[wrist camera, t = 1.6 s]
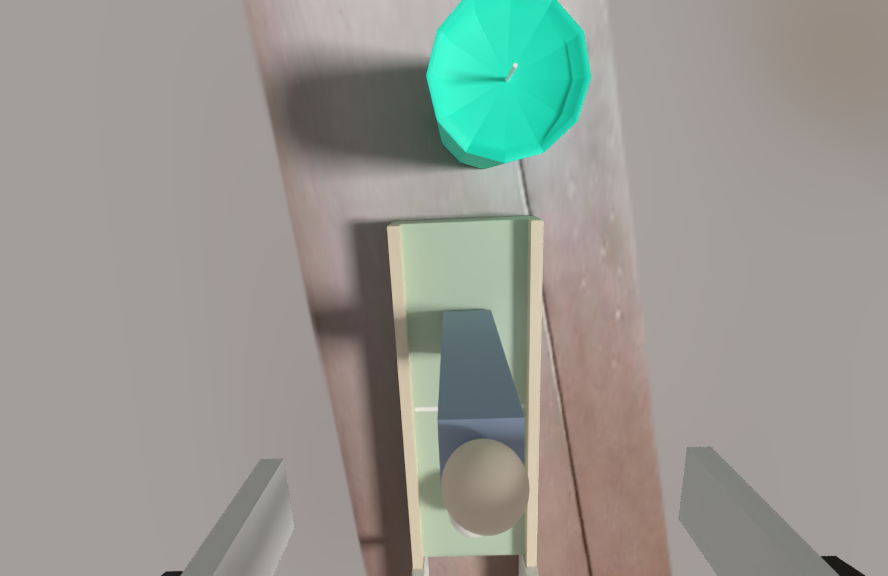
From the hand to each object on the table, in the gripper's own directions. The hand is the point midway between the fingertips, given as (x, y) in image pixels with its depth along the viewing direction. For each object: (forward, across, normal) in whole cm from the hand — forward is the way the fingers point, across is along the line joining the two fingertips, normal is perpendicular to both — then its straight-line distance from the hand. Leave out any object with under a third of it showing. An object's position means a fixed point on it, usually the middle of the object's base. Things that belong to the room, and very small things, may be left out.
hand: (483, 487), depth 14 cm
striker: (+13, 0, 0) cm, 13 cm away
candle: (+16, +2, +14) cm, 21 cm away
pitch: (+16, 0, -5) cm, 16 cm away
